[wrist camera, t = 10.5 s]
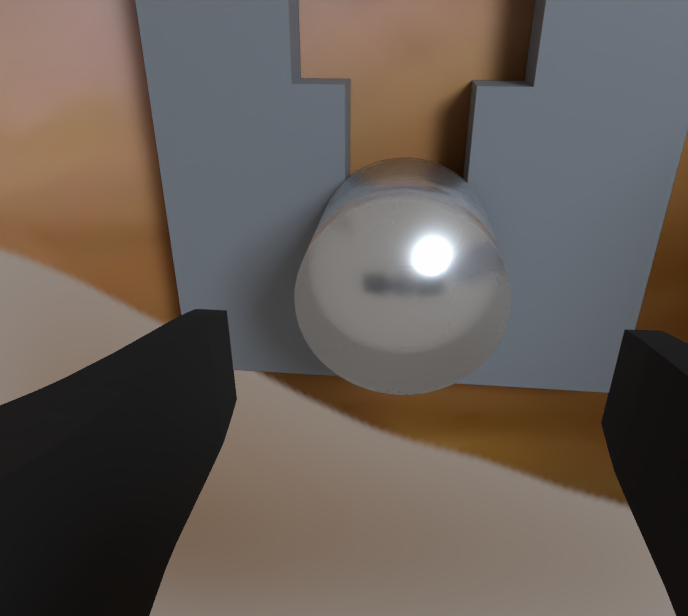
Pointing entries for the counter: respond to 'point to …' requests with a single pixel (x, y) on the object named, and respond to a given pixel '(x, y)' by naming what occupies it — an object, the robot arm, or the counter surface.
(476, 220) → the headed peg
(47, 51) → the counter surface
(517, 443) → the counter surface
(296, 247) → the keyhole plate
